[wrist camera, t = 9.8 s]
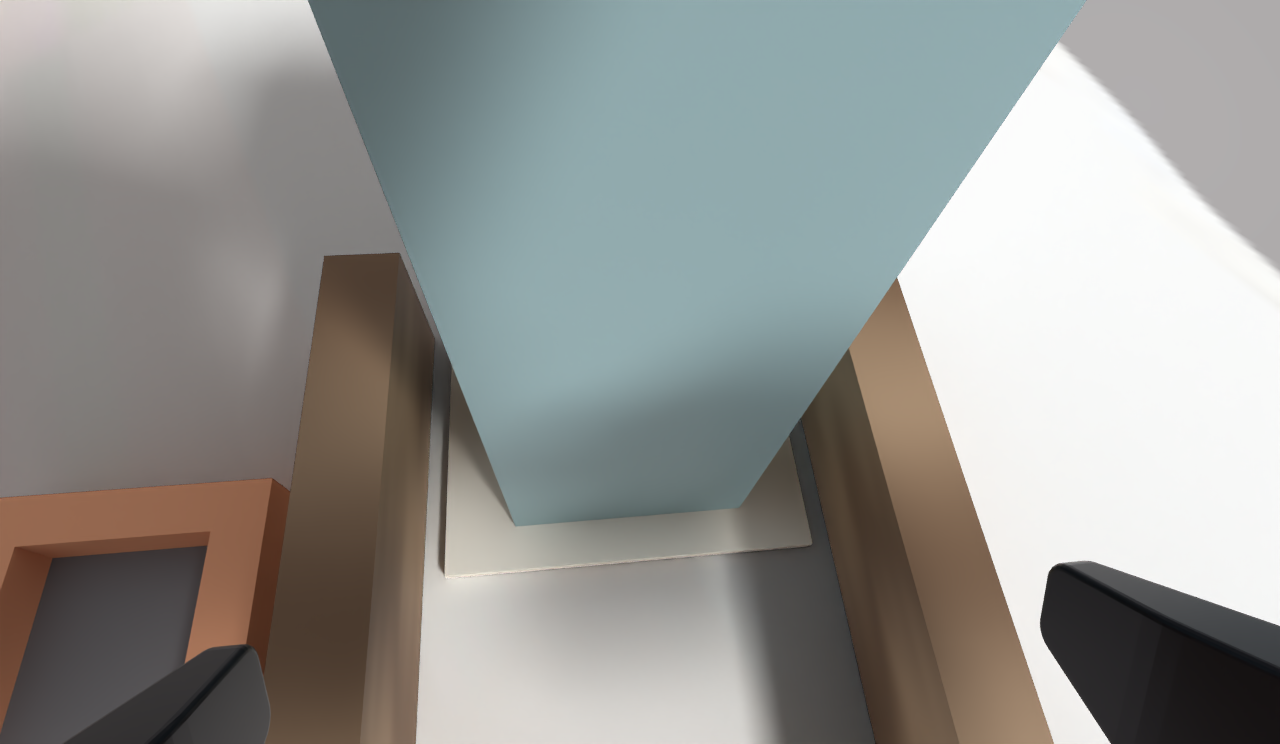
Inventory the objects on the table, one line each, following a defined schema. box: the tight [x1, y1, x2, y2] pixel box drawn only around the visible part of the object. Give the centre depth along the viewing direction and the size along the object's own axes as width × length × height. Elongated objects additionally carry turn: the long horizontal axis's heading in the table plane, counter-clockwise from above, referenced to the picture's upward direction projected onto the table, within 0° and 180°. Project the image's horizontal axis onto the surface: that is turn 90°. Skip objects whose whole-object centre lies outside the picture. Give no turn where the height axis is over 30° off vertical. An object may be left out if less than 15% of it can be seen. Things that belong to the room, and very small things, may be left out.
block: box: [308, 0, 1086, 526], centre depth 10 cm, size 5×5×12 cm
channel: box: [264, 253, 1054, 744], centre depth 13 cm, size 14×12×4 cm
